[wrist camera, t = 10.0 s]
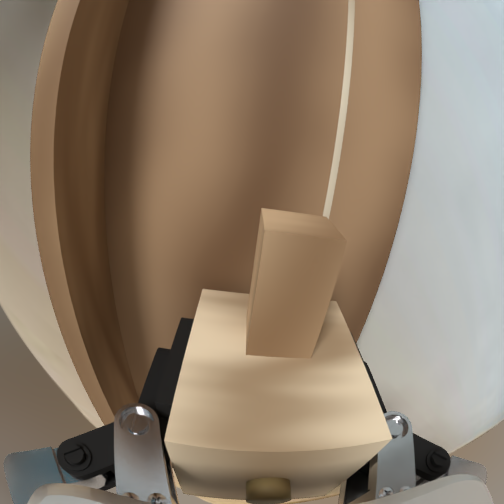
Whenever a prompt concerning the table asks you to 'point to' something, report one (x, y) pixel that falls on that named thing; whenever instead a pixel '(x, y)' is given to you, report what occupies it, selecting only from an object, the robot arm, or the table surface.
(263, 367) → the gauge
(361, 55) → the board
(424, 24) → the table surface
